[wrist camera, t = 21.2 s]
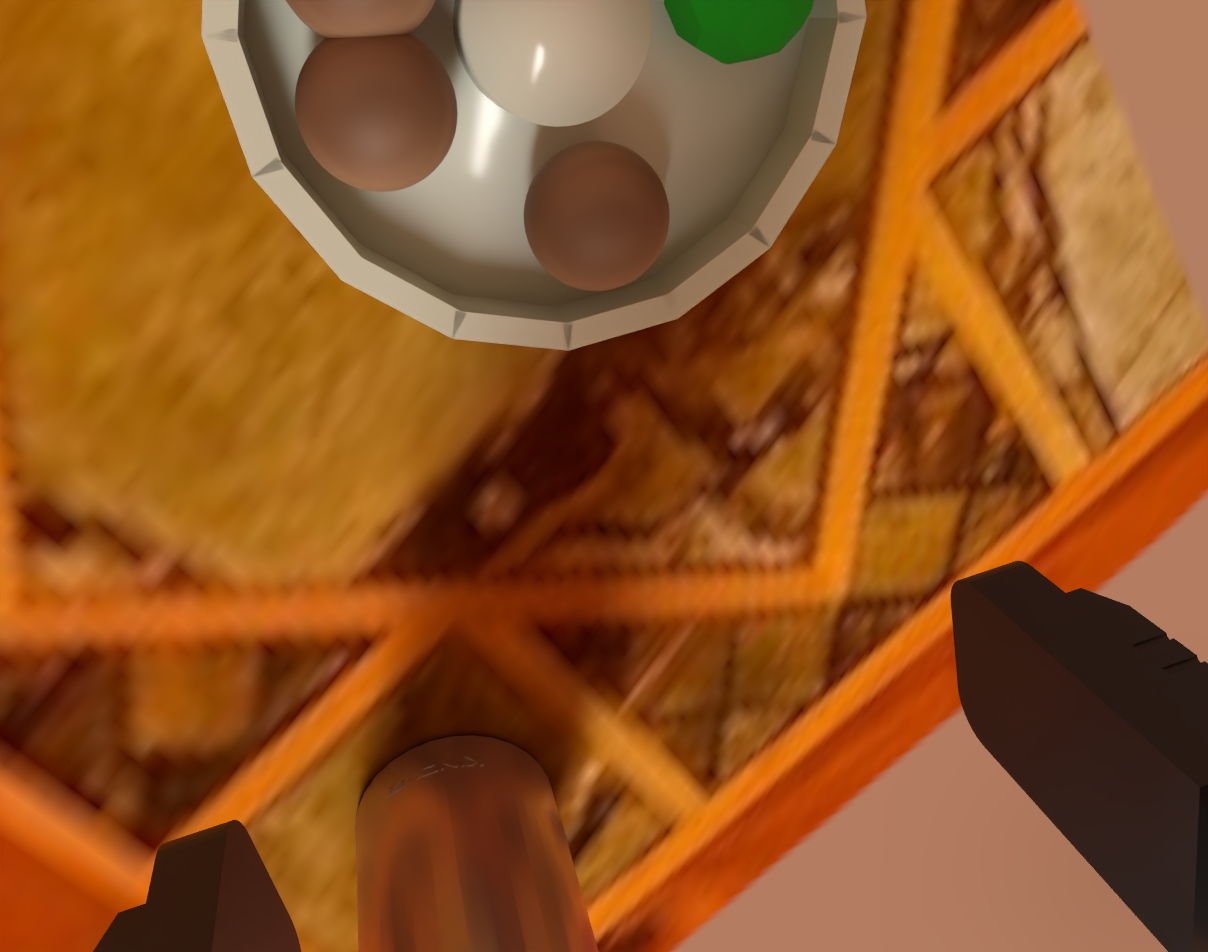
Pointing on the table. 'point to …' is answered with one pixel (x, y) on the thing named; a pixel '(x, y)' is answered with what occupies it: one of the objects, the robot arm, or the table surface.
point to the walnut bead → (596, 215)
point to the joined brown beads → (373, 93)
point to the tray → (549, 154)
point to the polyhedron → (738, 26)
